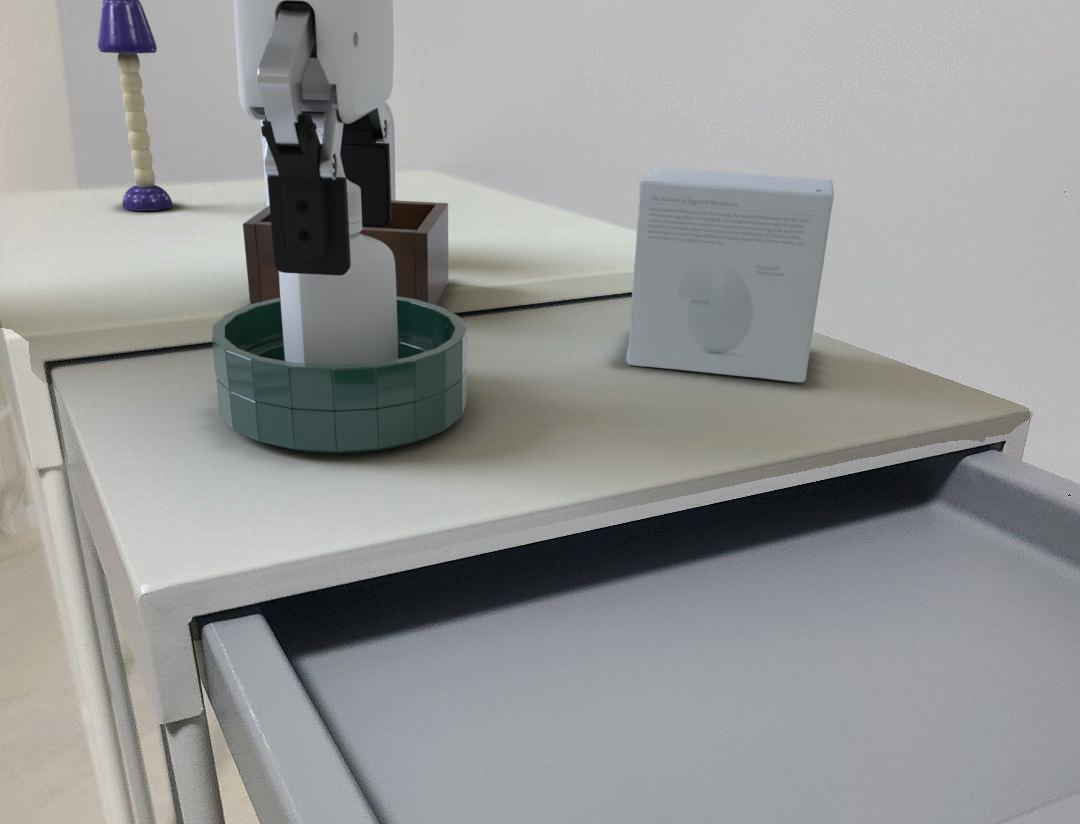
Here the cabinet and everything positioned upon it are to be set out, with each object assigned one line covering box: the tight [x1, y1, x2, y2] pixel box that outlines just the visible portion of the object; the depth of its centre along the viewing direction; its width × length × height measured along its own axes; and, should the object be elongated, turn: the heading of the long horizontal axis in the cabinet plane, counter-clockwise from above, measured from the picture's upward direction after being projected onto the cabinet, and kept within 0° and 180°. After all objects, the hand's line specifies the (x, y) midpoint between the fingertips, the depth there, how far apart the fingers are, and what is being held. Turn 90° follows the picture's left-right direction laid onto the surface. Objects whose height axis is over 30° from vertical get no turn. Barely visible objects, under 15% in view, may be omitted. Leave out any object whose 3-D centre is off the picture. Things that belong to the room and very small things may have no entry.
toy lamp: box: [97, 0, 173, 212], centre depth 92 cm, size 5×5×17 cm
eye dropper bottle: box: [279, 157, 398, 365], centre depth 52 cm, size 4×6×12 cm
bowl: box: [211, 296, 468, 455], centre depth 54 cm, size 12×12×4 cm
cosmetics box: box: [625, 167, 835, 383], centre depth 62 cm, size 10×6×10 cm, turn 77°
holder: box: [242, 199, 449, 306], centre depth 72 cm, size 12×10×6 cm
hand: (338, 246), depth 51 cm, fingers open, 9 cm apart
